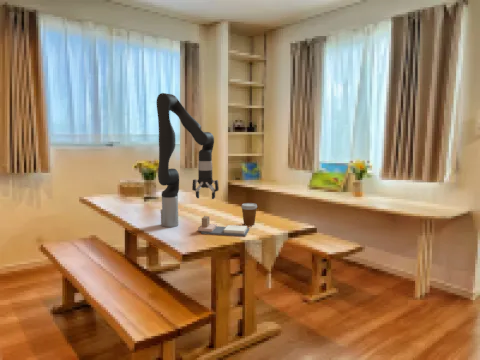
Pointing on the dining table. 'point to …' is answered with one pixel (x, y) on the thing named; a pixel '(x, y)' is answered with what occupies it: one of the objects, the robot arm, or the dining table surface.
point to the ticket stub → (207, 225)
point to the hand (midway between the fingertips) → (205, 198)
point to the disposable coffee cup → (249, 213)
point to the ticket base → (216, 232)
